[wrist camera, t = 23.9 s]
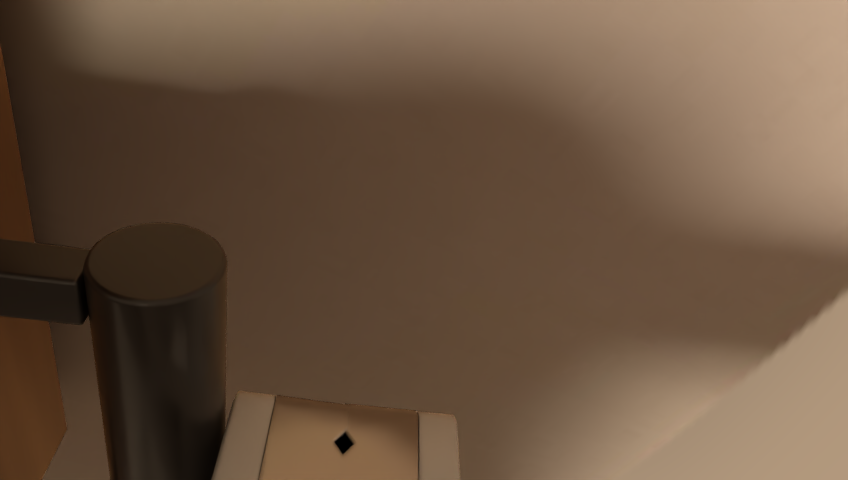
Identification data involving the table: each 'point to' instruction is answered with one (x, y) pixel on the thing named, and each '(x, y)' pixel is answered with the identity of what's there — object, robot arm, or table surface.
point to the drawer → (111, 337)
